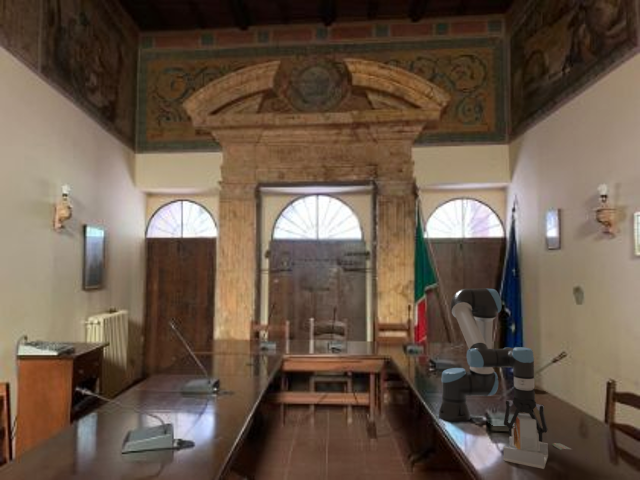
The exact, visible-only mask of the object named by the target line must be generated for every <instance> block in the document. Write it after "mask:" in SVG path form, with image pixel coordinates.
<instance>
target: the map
mask: <svg viewBox="0 0 640 480" xmlns="http://www.w3.org/2000/svg"><path fill="white" fill-rule="evenodd" d="M551 445H552V446H553V447H554V448H557V449H558V450H560V451H562V450H564V449H565V450H572V448H571V447H568V446H566V445H564V444H562V443H560V442H559V443H558V442H552V444H551Z"/></svg>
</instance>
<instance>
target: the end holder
mask: <svg viewBox="0 0 640 480" xmlns="http://www.w3.org/2000/svg"><path fill="white" fill-rule="evenodd" d="M508 439H509V446H506V445H505V446H503V448H502V449H503V461H506V462H509V463H514V464H519V465H523V466H527V467H528V466H529V467H532V468H538V469H542V470H545V467H546V463H547V461H548V458H549V446H548V445H549V443H547V442H543V441H542V442H540V450H539V451H537V452H531V451H526V450H521V449H517V448H516V446H515V445H514V446H512V436H509V438H508Z"/></svg>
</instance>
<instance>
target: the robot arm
mask: <svg viewBox="0 0 640 480" xmlns="http://www.w3.org/2000/svg"><path fill="white" fill-rule="evenodd" d="M502 306H503V305H502V300H501V297H500V294H499V292H498V291H497V290H496V289H494V288H462V289H459V290H457V292H455V293H454V294H453V296H452V297H451V299H450V303H449V308H450V311H451V314H452V316H453V317H454V318H455V319H456V321H457V323H458V326H459V329H460V330H461V333H462V335H463V338H464V340H465V342H466V346H467V348H468V349H467V351H466V361H467V365H468V366H469V371H466V369H465V368H463V367H452V368H451V367H450V368H447V369H444V370H443V371H442V372H441V380H440V381H441V398H442V399H441V403H440V405H439V409H438V417H439V418H440V419H442V420H445V421H449V422H458V423H459V422H468V421H470V419H471V412H470V409H469V407H468V406H469V405H468V403H467V397H488V396H494V395H496V393H497V392H498V388H499V380H498V379H499V377H498V374H497V372H495V369H494V368H512V372H513V375H512V376H513V399H507V400H505V406H506V407H505V413H504V419H503V425H504V426H506V427H507V428H508V436H509V437H512V446H514V445H515V427H514V422H515V420H516V417H517V416H518V414H519V413H524V414H530V416H531V418H532V419H535V420H536V426H537V451H539V450H540V442H543V441H544V440H543V438H544V437H543V433H547V432H548V426H547V421H546V416H545V412H544V409H545V405H544V404H543V403H542V404H539V403H537V402H536V396H535V395H536V393H535V391H536V390H535V365H534V364H535V363H534V362H535V358H534V351H533V350H532V348H530V347H524V346H522V347H521V346H520V347H519V346H517V347H508V346H507V347H504V348H493V329H494V327H493V324H494V320H495V319H496V318H497V314H499V313H500V312H501V311H502ZM513 405H514V406H515V408H516V410H515V412H514V413H513V416H512V418H511V420H510V422H509V419H510V413H511V407H512V406H513ZM535 408H536V410H537V411H539V412H538V413H539V417H540V421H541V424H540V422H539V420H538V418H537V415H536V412H535Z"/></svg>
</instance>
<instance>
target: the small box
mask: <svg viewBox="0 0 640 480" xmlns="http://www.w3.org/2000/svg"><path fill="white" fill-rule="evenodd" d="M513 427H515V446H516V448H517V449H521V450H526V451H531V452H537V431H538V430H537V426H536V420H535V419H532V418H531V416H530V414H529V413H523V412H519V414H518V416H517V417H516V420H515V422H514V424H513Z"/></svg>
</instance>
